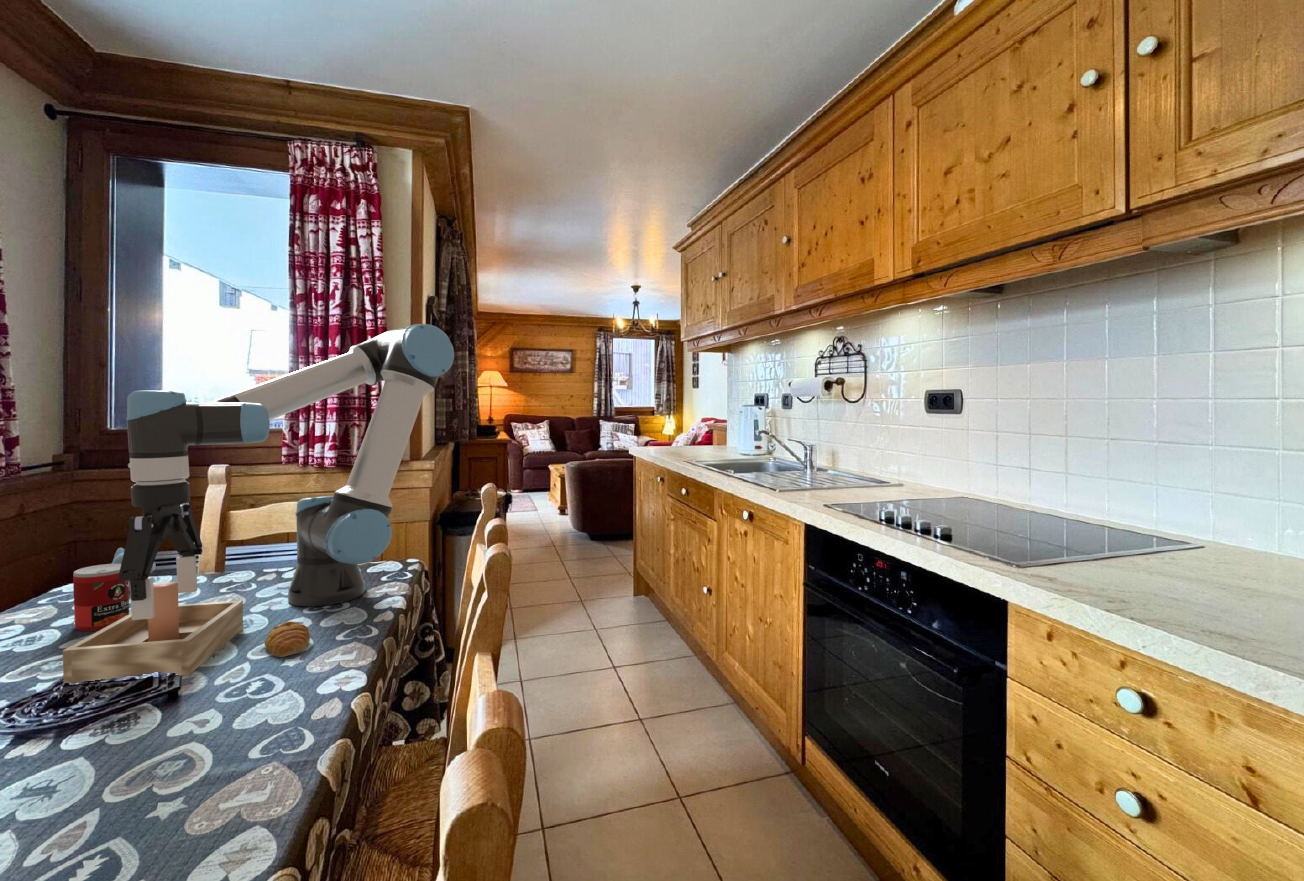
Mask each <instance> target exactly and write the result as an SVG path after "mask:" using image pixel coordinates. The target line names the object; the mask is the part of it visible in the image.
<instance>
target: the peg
mask: <svg viewBox="0 0 1304 881" xmlns="http://www.w3.org/2000/svg"><path fill="white" fill-rule="evenodd" d="M153 591H154V609H155V617H154V618H152V619H148V642H152V641H165V640H178V639H179V607H178V605H179V593H178V583H177V581H166V582H158V583H153Z"/></svg>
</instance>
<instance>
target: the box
mask: <svg viewBox="0 0 1304 881" xmlns="http://www.w3.org/2000/svg"><path fill="white" fill-rule="evenodd" d="M243 603H244V601H243V600H234V601H233V600H231V601H217V602H204V603H203V602H202V603H188V604H187V603H183V604H178V607H179V639H178V640H165V641H152V642H148V619H140V620H132V614H131V613H129V615H127V616H125V617H123V618H122V619H120V620H118V621H116V622H114V623H112V624H111V625H109V626H107V627H105V628H103V629H101V630H97V631H96V632H94V633H92V634H90V635H89V636H87V637H85V638H84V639H82V640H81V639H80V640H79V641H78V642H76V643H75V644H73V645H71V646H69V647H67V648H65V649H63V650H62V670H63V672H62V673H63V674H62V675H63V684H64V683H74V682H75V683H76V682H84V681H95V680H101V679H111V678H118V677H119V678H120V677H126V676H138V675H143V674H150V673H154V672H162V673H176V674H178V675H179V676H178V677H180V676H183V677H184V676H189V675H191V674H192V673H193V672H195V671H196V670H197V669H198V668H199V667H200V666H201V665H203V664H204V663H205V662H206V661H207V660H208V659H210V658H211V657H212V656H214V654H215V653H217V652H218V651H219V650H221V649H222V647H224V646H225V645H226V644H227V643H229V642H230V641H231V640H232V639H233V638H235V637H236V636H237V635H238V634H239V633H240V632H241V631H242V630H244V612H243V611H244V610H243V609H244V606H243V605H244V604H243Z"/></svg>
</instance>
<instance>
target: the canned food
mask: <svg viewBox="0 0 1304 881" xmlns="http://www.w3.org/2000/svg"><path fill="white" fill-rule="evenodd" d="M120 567H121V564H112V563H107V564H103V563H102V564H97V565H91V566H85V567H81V568H79V569H77V570H74V571H73V574H72V575H73V576H72V577H73V578H72V582H73V583H72V584H73V609H74V611H73V614H74V627H75V629H76V630H78V631H82V632H91V631H92V632H94V631H100V630H101V629H103V628H105V627H107V626H109V625H111V624H112V623H114V622H116V621H118V620H120V619H122V618H123V617H125V616H127V615H129V614H130V591H129V581H121V580H119V572H120Z"/></svg>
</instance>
